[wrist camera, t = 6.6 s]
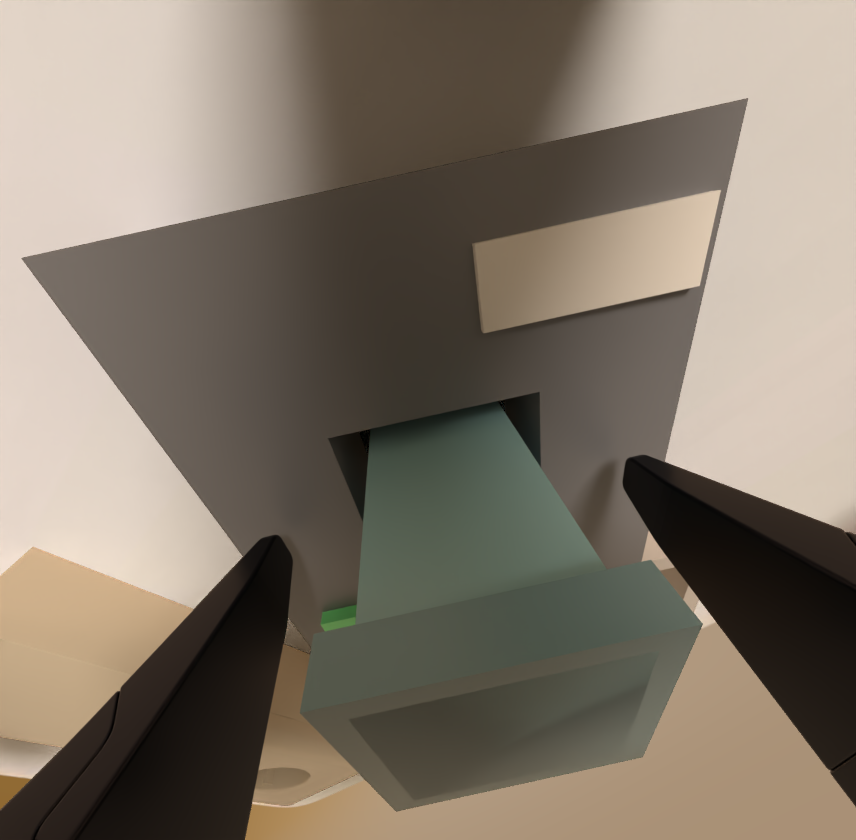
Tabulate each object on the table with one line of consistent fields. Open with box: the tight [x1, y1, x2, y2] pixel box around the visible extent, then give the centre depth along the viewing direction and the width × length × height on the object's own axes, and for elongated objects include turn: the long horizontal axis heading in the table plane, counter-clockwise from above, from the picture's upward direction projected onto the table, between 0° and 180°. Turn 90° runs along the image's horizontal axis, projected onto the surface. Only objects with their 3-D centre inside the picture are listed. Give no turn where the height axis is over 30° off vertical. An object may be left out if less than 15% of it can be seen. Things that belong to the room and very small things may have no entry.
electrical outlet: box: [0, 547, 359, 806], centre depth 16 cm, size 7×4×18 cm
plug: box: [300, 401, 703, 811], centre depth 8 cm, size 4×4×8 cm
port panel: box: [22, 98, 748, 647], centre depth 10 cm, size 12×14×3 cm
